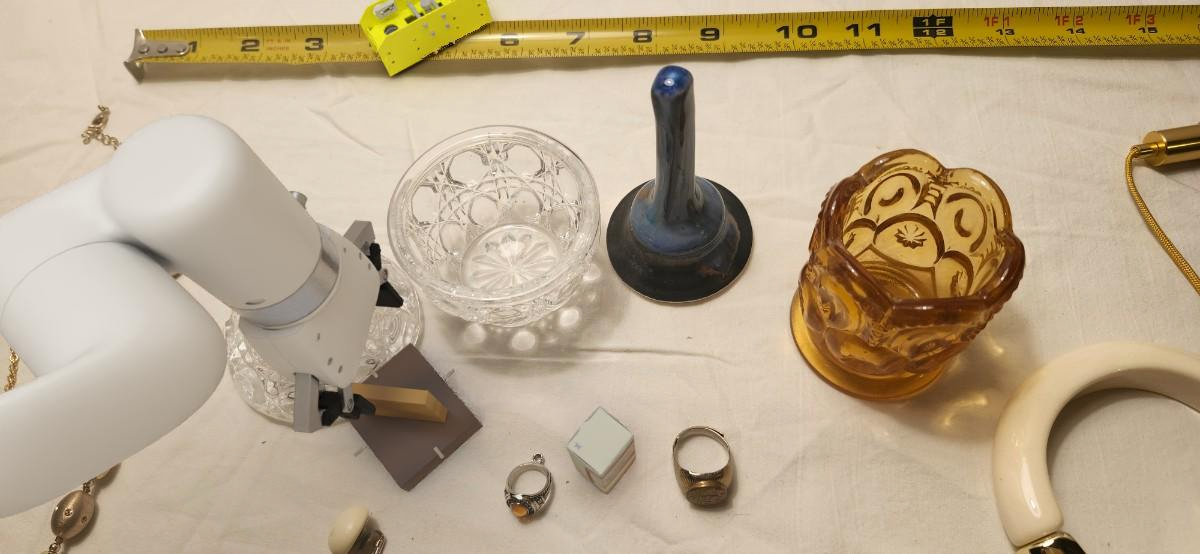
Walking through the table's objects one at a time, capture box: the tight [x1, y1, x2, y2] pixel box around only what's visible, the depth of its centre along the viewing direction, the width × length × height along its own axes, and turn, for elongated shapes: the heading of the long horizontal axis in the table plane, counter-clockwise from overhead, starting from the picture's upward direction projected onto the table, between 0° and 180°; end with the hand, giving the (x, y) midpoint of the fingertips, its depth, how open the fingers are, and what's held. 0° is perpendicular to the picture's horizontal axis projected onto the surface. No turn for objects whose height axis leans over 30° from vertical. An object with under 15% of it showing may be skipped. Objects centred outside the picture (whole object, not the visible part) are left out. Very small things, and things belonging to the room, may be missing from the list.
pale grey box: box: [565, 405, 637, 495], centre depth 72 cm, size 5×4×10 cm
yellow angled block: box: [336, 382, 448, 423], centre depth 74 cm, size 9×1×7 cm, turn 82°
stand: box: [347, 342, 483, 493], centre depth 79 cm, size 13×13×3 cm
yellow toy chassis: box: [358, 0, 493, 77], centre depth 99 cm, size 16×6×8 cm, turn 123°
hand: (373, 354), depth 64 cm, fingers open, 9 cm apart
